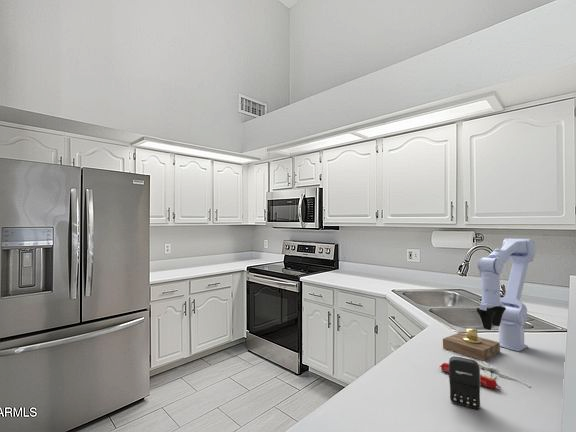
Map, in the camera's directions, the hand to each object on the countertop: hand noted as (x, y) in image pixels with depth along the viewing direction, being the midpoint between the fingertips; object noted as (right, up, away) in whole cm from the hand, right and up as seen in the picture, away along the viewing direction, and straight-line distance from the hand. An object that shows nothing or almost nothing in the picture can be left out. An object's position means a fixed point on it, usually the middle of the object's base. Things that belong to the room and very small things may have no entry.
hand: (491, 327), depth 110 cm
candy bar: (-21, -8, -20) cm, 30 cm away
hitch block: (-6, -10, +3) cm, 12 cm away
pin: (-6, -9, +2) cm, 11 cm away
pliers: (-11, -9, -18) cm, 22 cm away
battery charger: (-30, -7, -34) cm, 46 cm away
